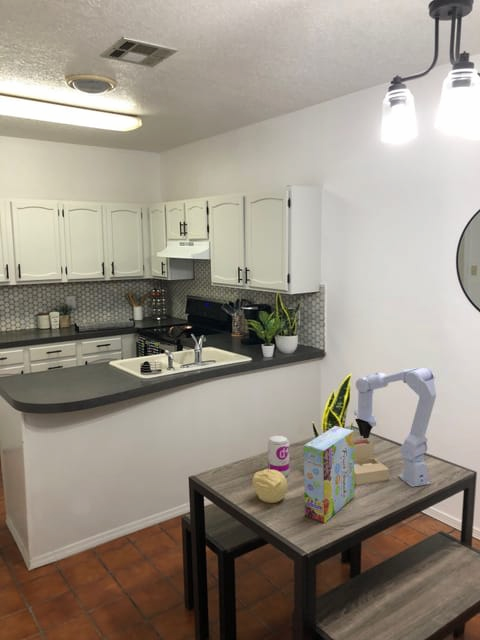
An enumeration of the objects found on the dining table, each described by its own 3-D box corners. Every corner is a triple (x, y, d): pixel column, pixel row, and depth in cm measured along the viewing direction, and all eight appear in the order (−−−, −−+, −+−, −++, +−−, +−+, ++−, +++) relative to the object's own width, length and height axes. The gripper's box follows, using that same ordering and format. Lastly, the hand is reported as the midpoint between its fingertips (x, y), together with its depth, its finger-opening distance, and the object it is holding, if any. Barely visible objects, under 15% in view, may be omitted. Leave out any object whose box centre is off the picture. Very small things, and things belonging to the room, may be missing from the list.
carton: (388, 480, 197) (389, 469, 196) (356, 485, 193) (356, 474, 192) (373, 467, 208) (373, 456, 207) (341, 471, 204) (342, 461, 204)
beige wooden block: (373, 442, 206) (367, 438, 211) (342, 446, 203) (336, 442, 208) (373, 457, 207) (367, 452, 212) (342, 461, 204) (337, 456, 208)
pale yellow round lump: (248, 499, 184) (247, 471, 182) (268, 487, 193) (268, 460, 191) (273, 510, 176) (272, 481, 174) (293, 497, 185) (293, 469, 183)
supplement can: (292, 476, 201) (292, 440, 198) (273, 480, 198) (273, 444, 195) (283, 468, 208) (283, 433, 206) (265, 471, 205) (264, 436, 203)
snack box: (333, 490, 189) (334, 424, 185) (355, 498, 184) (356, 430, 180) (302, 515, 173) (302, 443, 168) (324, 524, 167) (325, 450, 163)
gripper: (383, 410, 205) (382, 442, 207) (365, 399, 219) (364, 429, 221) (367, 411, 203) (366, 444, 205) (350, 401, 217) (349, 431, 219)
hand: (364, 436), depth 213 cm, fingers closed
